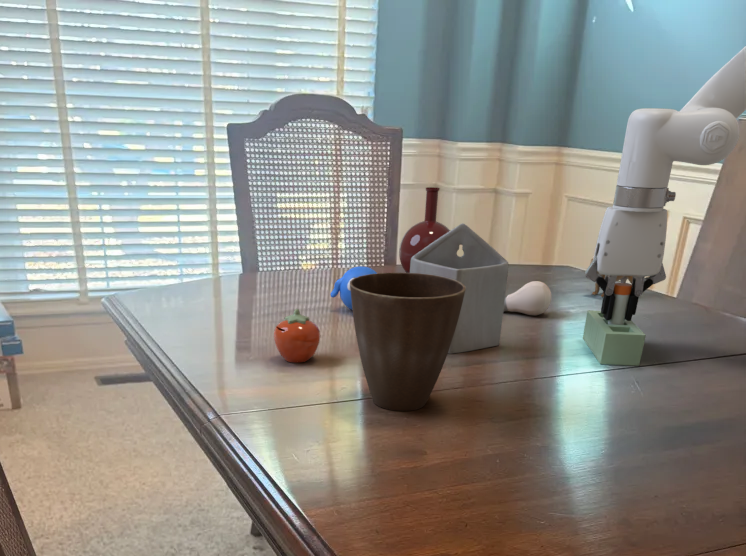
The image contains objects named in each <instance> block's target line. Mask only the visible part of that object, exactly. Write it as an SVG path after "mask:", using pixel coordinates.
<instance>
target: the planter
mask: <svg viewBox="0 0 746 556" xmlns="http://www.w3.org/2000/svg"><path fill="white" fill-rule="evenodd" d="M460 246H462V247H461V250H462V252H463V255H461V256H459V255H458V251H459V250H460ZM509 265H510V264H509V261H508V260H507V259H506V258H505V257H504V256H503V255H502V254H500V253H499V252H498V250H496V249H495V248H494V247H493V246H492V245H490V244H489V243H488V242H487V241H486V240H484V238H483V237H481V236H480V235H479V234H478V233H477V232H475V230H473V229H472V228H470V227H469V226H468V225H467V224H466V223H460V224H458V225H457V226H455V227H453V228H452V229H450V231H449V232H448V233H446V234H445V235H443V236H442V237H440V238H439V239H437V240H436V241H434V242H432V243H431V244H430V245H428V246H427V247H425V248H424V249H423V250H421V251H420V252H418V253H417V254H415V255H414V256H413V257H412V258H411V264H410V273H420V274H429V275H435V276H441V277H446V278H450V279H453V280H456V281H459V282H461V283H463V284H464V285H465V287H466V290H465V294H464V299H463V303H462V307H461V311H460V315H459V319H458V323H457V326H456V330H455V333H454V336H453V339H452V342H451V345H450V348H449V351H448V354H447V355H454V354H459V353H460V354H461V353H466V352H471V351H478V350H483V349H487V348H493V347H497V346H499V345H500V343H501V342H500V341H501V334H502V333H501V332H502V325H503V319H504V318H503V316H504V312H503V309H504V301H505V297H506V293H507V285H508V278H509V277H508V276H509V268H510V267H509Z"/></svg>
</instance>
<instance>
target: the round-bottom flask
mask: <svg viewBox="0 0 746 556" xmlns="http://www.w3.org/2000/svg"><path fill="white" fill-rule="evenodd" d="M440 189H441V188H440V187H432V186H431V187H430V186H429V187H425V192H426V193H425V208H424V220H422V221H420V222H417V223H415V224H414V225H412V226H411V227H410V228H408V230H406V232H405V233H404V235H403V237H402V238H401V241H400V244H399V251H398V256H399V262H400V264H401V268H402V269H403V271H404V273H410V264H411V258H412V257H413V256H414V255H415V254H417V253H418V252H420V251H421V250H423V249H424V248H425V247H427V246H428V245H430V244H431V243H432V242H434V241H436V240H437V239H439V238H440V237H442V236H443V235H445V234H446V233H448V232H449V231H451V229H449V227H447V226H446V225H445V224H443V223H441V222H439V221H437V215H438V214H437V212H438V201H439V192H440Z"/></svg>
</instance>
